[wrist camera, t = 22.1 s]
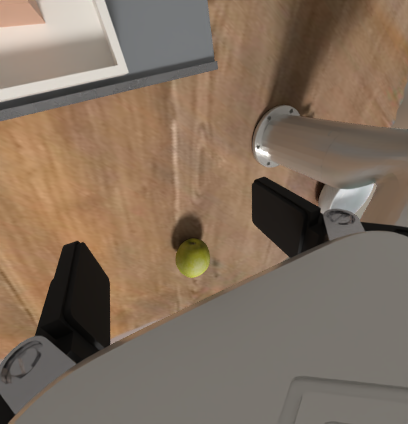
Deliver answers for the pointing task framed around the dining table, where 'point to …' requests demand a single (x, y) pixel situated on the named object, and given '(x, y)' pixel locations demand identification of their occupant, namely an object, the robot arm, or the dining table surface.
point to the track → (139, 52)
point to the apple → (192, 257)
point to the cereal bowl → (343, 198)
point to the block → (19, 13)
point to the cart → (59, 49)
